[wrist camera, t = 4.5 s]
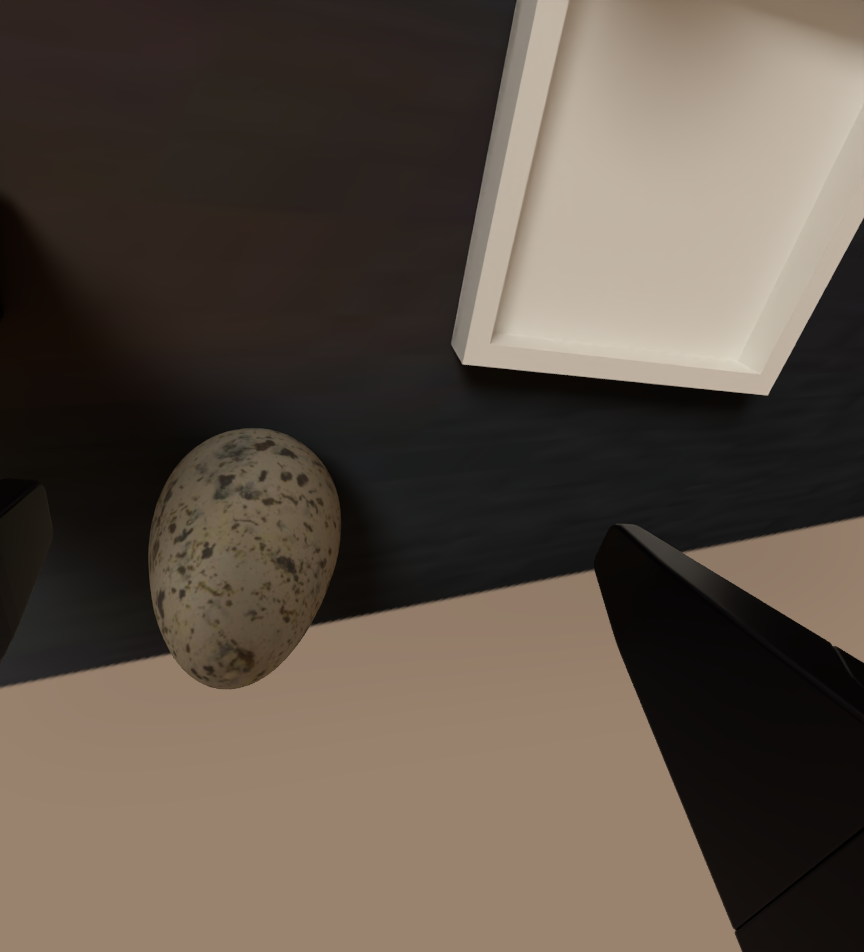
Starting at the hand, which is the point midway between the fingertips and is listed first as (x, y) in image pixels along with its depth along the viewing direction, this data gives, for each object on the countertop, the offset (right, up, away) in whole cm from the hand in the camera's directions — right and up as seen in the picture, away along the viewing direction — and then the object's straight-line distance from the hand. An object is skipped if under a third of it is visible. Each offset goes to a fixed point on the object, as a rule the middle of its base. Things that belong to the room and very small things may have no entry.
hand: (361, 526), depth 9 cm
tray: (+9, +11, +9) cm, 17 cm away
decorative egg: (-6, +1, +13) cm, 14 cm away
